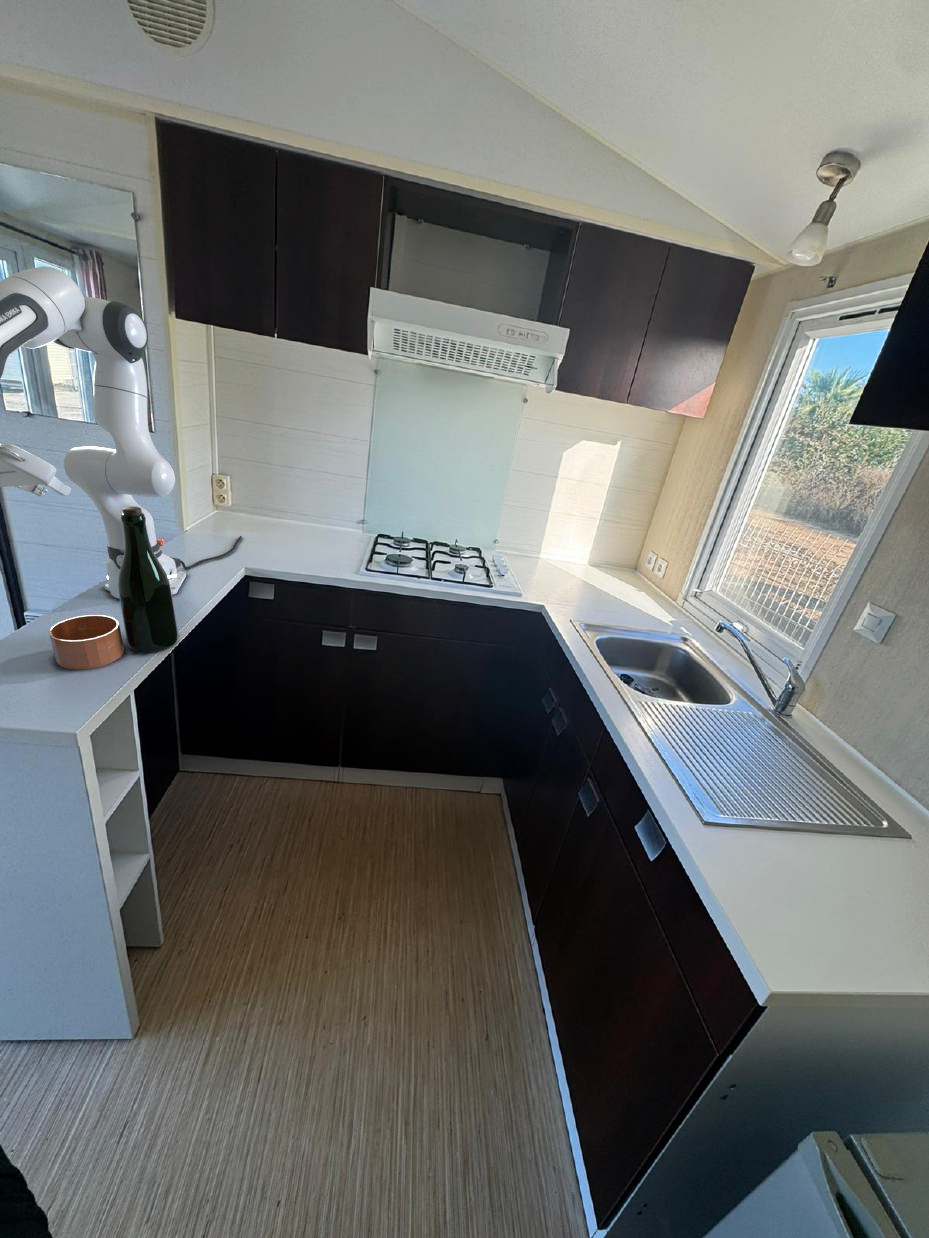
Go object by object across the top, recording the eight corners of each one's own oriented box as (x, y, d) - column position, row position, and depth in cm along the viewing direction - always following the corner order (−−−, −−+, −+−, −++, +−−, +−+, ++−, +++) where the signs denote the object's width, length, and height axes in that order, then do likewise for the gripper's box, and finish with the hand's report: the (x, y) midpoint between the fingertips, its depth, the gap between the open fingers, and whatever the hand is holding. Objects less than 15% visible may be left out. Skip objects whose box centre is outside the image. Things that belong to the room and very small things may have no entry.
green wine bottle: (116, 647, 113) (87, 507, 98) (153, 628, 122) (132, 498, 108) (154, 658, 111) (130, 517, 96) (189, 638, 120) (172, 507, 106)
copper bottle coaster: (78, 639, 113) (72, 613, 110) (134, 643, 115) (129, 617, 112) (42, 667, 103) (34, 638, 100) (105, 671, 104) (98, 643, 101)
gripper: (5, 427, 81) (91, 478, 92) (-45, 436, 90) (39, 481, 102) (-16, 458, 79) (75, 506, 91) (-64, 464, 88) (24, 507, 100)
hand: (56, 493), depth 96 cm, fingers open, 8 cm apart
